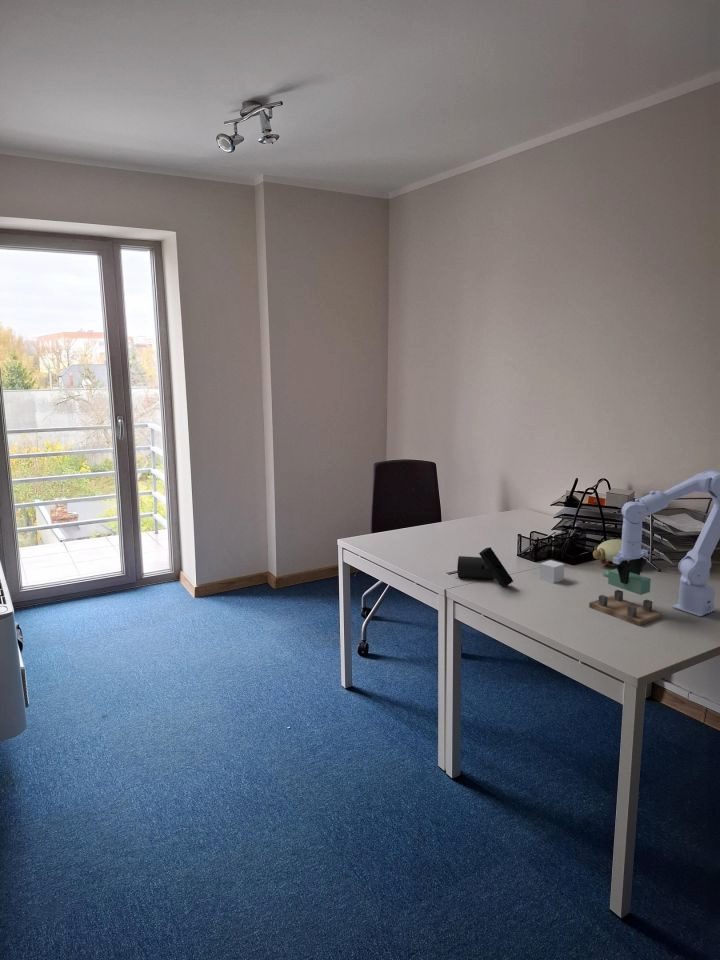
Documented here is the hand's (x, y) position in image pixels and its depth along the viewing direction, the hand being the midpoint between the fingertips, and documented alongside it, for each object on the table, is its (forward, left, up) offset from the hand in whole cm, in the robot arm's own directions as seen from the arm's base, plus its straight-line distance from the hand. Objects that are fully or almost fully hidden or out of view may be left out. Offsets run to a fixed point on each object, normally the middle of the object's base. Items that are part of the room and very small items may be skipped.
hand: (629, 581), depth 206 cm
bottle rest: (-2, +4, -8) cm, 10 cm away
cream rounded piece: (+30, -33, -9) cm, 45 cm away
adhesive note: (+32, 0, -9) cm, 33 cm away
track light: (+45, +20, -9) cm, 50 cm away
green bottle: (+2, 0, -2) cm, 3 cm away
